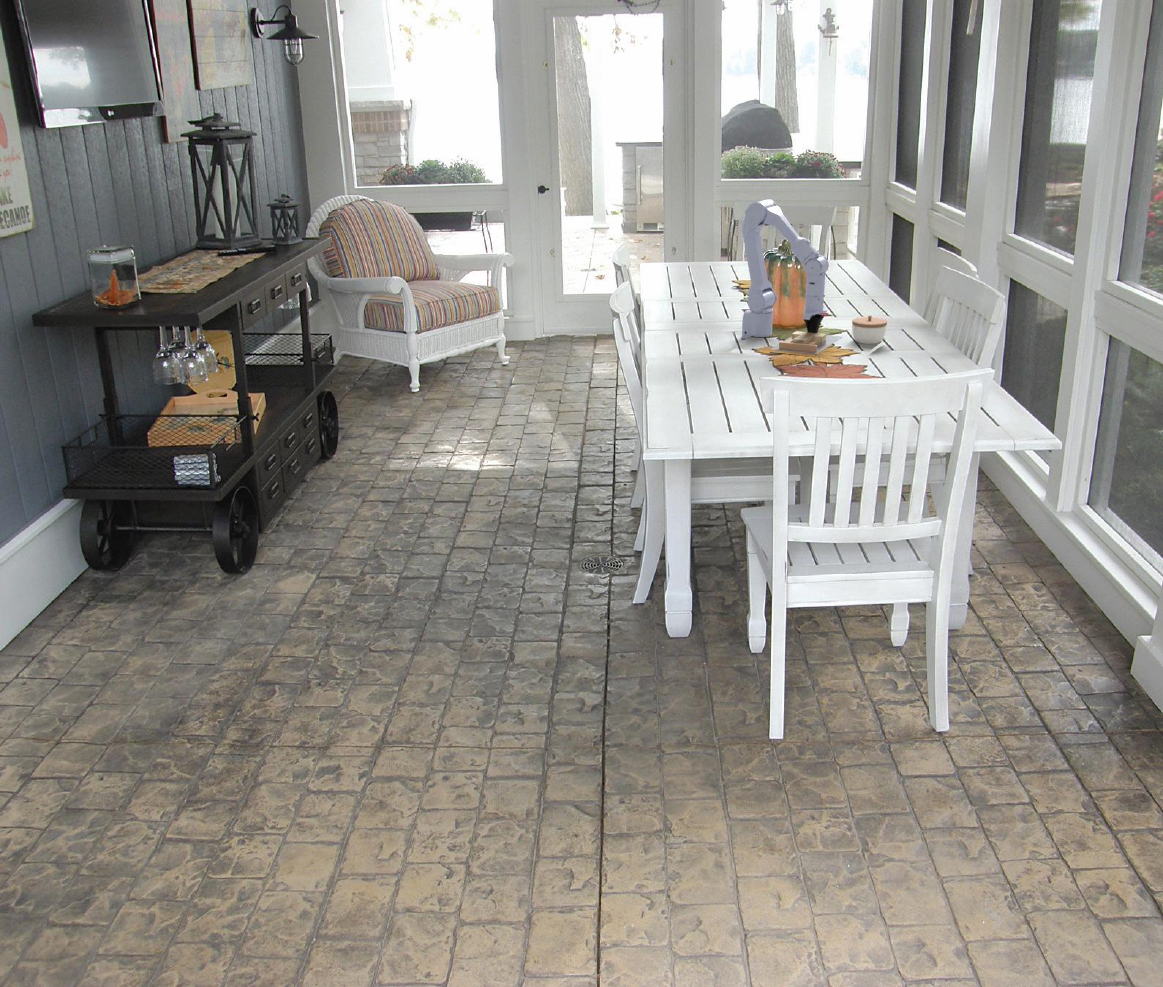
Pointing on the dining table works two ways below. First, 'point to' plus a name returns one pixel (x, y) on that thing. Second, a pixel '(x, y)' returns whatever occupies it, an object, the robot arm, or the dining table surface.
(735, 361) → the dining table surface
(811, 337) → the t block
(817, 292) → the robot arm
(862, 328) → the lidded jar
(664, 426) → the dining table surface
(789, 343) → the board
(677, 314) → the dining table surface
